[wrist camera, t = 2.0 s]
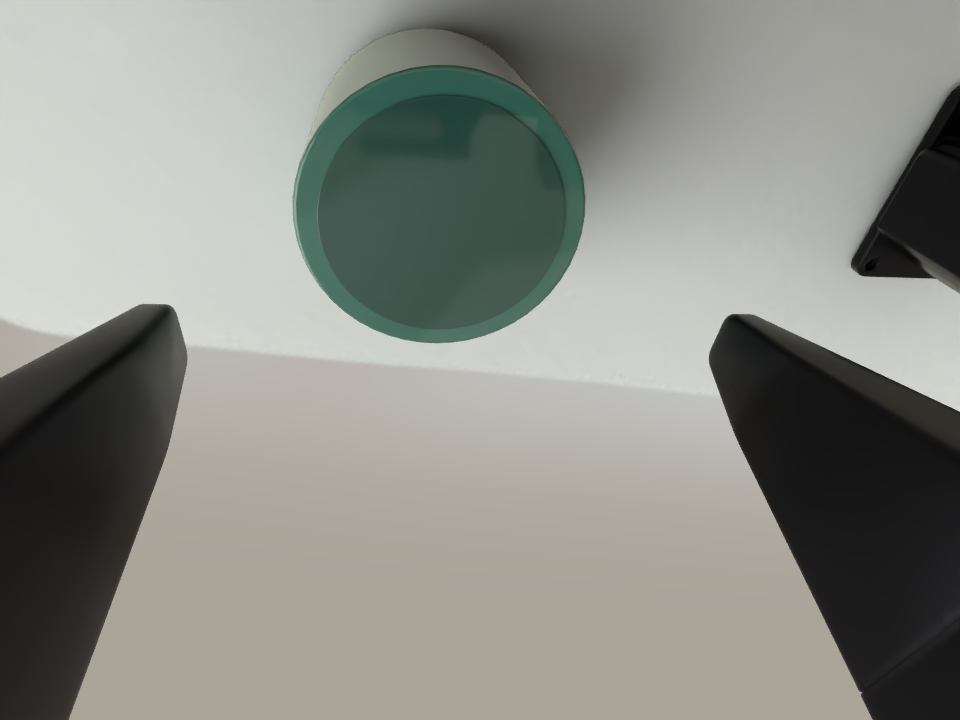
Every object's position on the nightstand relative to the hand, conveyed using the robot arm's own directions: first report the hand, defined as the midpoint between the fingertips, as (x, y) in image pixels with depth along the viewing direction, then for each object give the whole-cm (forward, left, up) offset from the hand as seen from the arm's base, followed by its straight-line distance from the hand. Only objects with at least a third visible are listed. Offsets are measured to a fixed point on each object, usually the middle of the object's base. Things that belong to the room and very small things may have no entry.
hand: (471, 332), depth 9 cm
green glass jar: (0, 0, -9) cm, 9 cm away
